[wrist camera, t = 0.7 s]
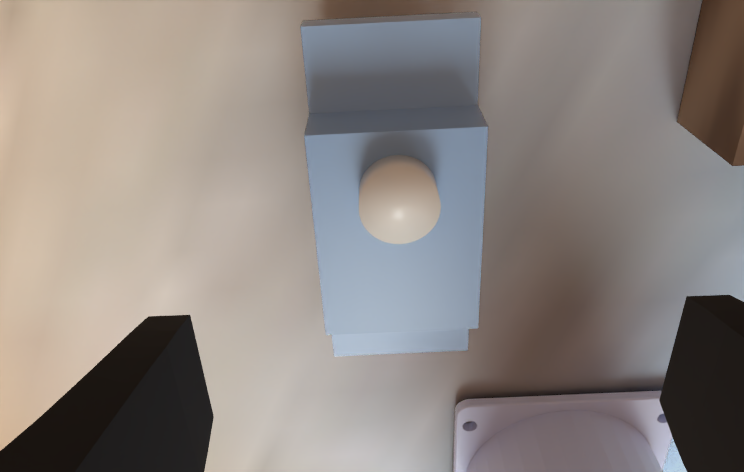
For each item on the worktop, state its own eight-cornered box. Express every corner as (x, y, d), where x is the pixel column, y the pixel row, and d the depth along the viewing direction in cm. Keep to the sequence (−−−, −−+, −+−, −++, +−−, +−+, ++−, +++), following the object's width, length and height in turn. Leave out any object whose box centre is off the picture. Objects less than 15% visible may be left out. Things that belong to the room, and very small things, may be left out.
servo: (451, 273, 20) (480, 408, 15) (338, 279, 20) (330, 415, 15) (456, -13, 16) (501, 41, 11) (313, -5, 16) (289, 53, 11)
